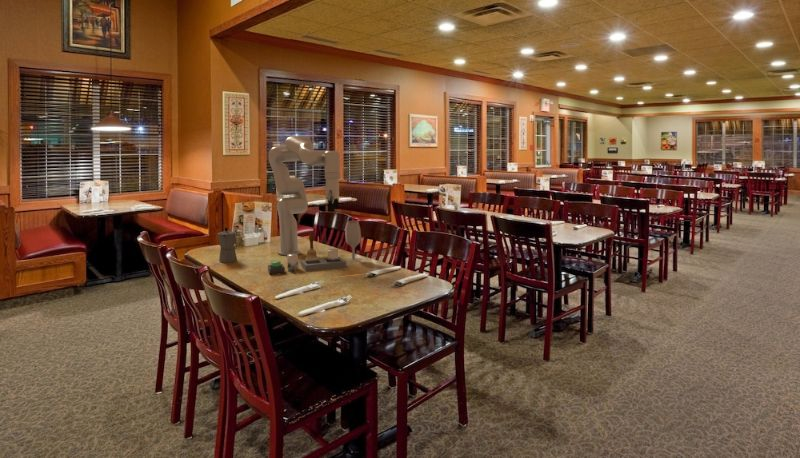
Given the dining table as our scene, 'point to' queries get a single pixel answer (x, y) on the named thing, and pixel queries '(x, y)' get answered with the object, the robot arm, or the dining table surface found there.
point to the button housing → (276, 270)
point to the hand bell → (311, 248)
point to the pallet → (322, 264)
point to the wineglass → (353, 238)
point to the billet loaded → (332, 255)
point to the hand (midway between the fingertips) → (333, 210)
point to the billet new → (292, 262)
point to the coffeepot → (227, 246)
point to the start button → (275, 264)
